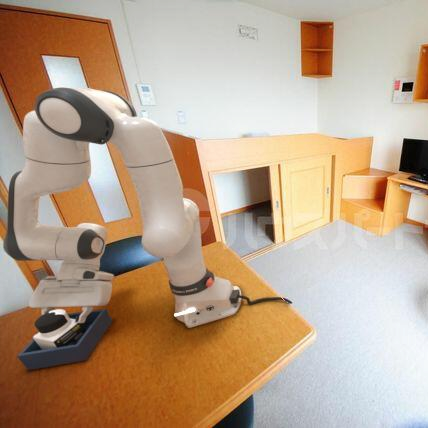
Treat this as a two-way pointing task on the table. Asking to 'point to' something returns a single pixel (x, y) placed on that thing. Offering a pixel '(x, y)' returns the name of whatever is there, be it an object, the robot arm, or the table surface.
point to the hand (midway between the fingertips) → (63, 323)
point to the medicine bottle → (57, 330)
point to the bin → (81, 351)
